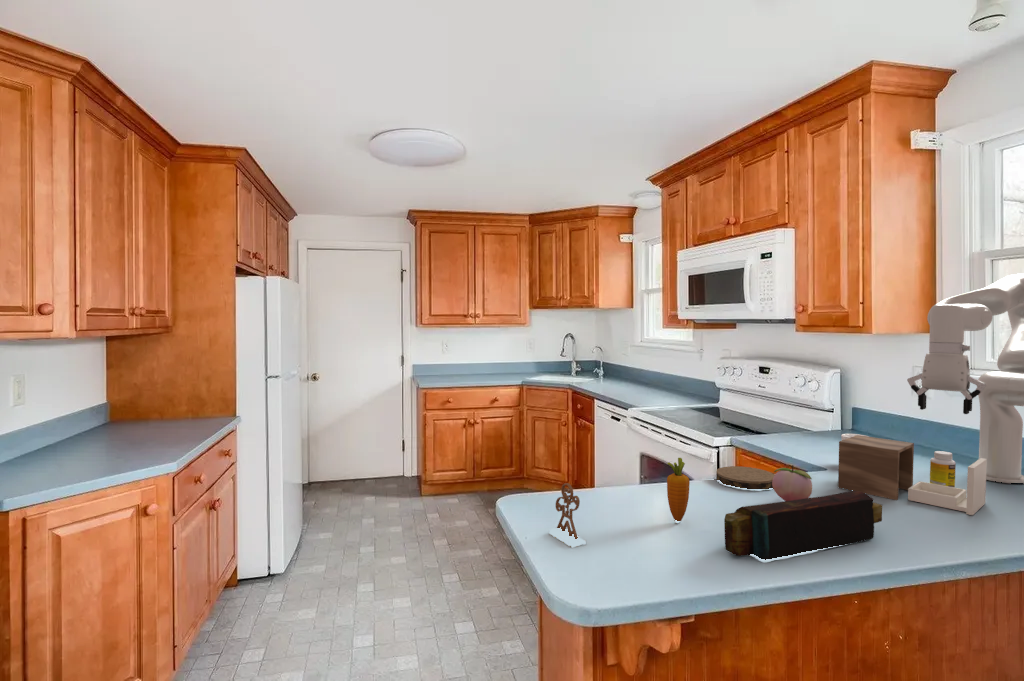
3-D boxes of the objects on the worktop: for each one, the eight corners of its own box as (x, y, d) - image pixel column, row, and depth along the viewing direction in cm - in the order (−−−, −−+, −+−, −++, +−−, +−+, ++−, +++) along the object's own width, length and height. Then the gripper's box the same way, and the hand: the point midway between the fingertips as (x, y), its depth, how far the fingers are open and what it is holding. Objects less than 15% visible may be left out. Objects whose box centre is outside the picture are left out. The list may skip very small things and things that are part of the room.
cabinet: (856, 478, 165) (857, 435, 164) (912, 489, 154) (913, 443, 154) (838, 487, 156) (839, 441, 156) (896, 500, 145) (898, 450, 145)
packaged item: (846, 524, 129) (847, 481, 129) (888, 539, 120) (890, 493, 120) (710, 549, 115) (710, 501, 115) (745, 568, 106) (746, 516, 105)
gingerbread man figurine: (548, 533, 122) (548, 479, 122) (562, 530, 124) (563, 477, 124) (571, 548, 115) (572, 490, 114) (587, 544, 117) (587, 487, 116)
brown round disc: (760, 496, 150) (760, 485, 150) (705, 483, 162) (705, 472, 162) (785, 484, 160) (785, 474, 160) (732, 473, 172) (732, 463, 172)
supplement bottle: (950, 493, 151) (951, 455, 151) (926, 488, 156) (927, 451, 155) (958, 490, 154) (959, 453, 154) (934, 485, 159) (935, 449, 158)
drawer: (921, 490, 153) (922, 449, 152) (985, 503, 142) (986, 458, 142) (905, 501, 144) (907, 457, 143) (972, 515, 134) (974, 468, 133)
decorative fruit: (817, 504, 142) (818, 465, 142) (807, 512, 136) (808, 472, 136) (778, 496, 148) (778, 459, 148) (767, 504, 142) (768, 465, 142)
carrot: (677, 528, 125) (678, 462, 125) (661, 521, 130) (662, 457, 129) (693, 525, 128) (694, 460, 127) (677, 518, 132) (678, 455, 131)
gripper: (989, 350, 149) (987, 414, 150) (912, 347, 162) (910, 406, 163) (983, 351, 144) (981, 417, 145) (904, 348, 158) (902, 408, 158)
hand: (944, 411), depth 154 cm, fingers open, 9 cm apart
